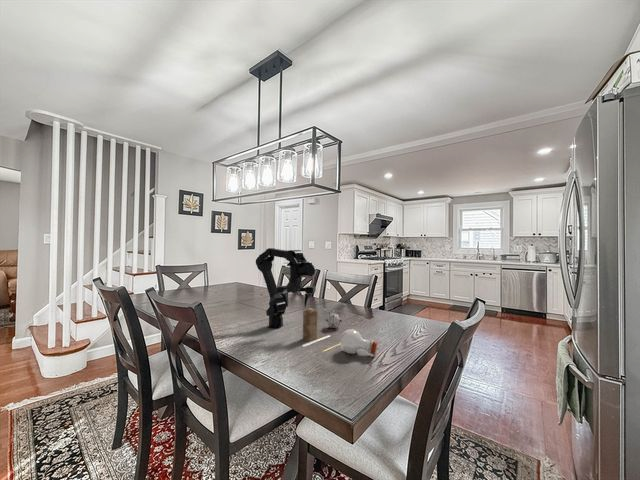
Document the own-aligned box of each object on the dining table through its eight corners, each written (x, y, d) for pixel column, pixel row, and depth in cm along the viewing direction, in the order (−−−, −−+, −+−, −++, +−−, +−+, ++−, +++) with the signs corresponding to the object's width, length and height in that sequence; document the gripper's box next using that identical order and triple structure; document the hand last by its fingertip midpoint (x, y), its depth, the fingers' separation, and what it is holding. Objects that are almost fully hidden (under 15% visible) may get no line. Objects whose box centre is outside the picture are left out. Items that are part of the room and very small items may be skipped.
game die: (335, 334, 143) (346, 318, 145) (335, 333, 135) (346, 316, 137) (321, 324, 145) (332, 308, 148) (320, 323, 137) (331, 306, 140)
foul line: (304, 346, 116) (304, 346, 116) (301, 345, 117) (301, 345, 117) (331, 336, 129) (331, 336, 129) (328, 335, 130) (328, 335, 130)
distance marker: (324, 351, 111) (324, 351, 111) (322, 351, 111) (322, 351, 111) (344, 342, 121) (344, 342, 121) (342, 342, 122) (342, 341, 122)
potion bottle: (339, 352, 114) (374, 363, 108) (334, 345, 106) (371, 357, 100) (345, 331, 118) (379, 340, 112) (341, 323, 111) (377, 332, 105)
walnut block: (302, 338, 126) (303, 309, 126) (309, 335, 129) (310, 307, 129) (309, 340, 123) (310, 311, 123) (316, 338, 126) (317, 309, 126)
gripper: (271, 277, 128) (272, 310, 127) (310, 277, 124) (310, 311, 123) (280, 274, 139) (280, 305, 138) (315, 274, 135) (316, 306, 134)
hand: (296, 307), depth 133 cm, fingers open, 9 cm apart
